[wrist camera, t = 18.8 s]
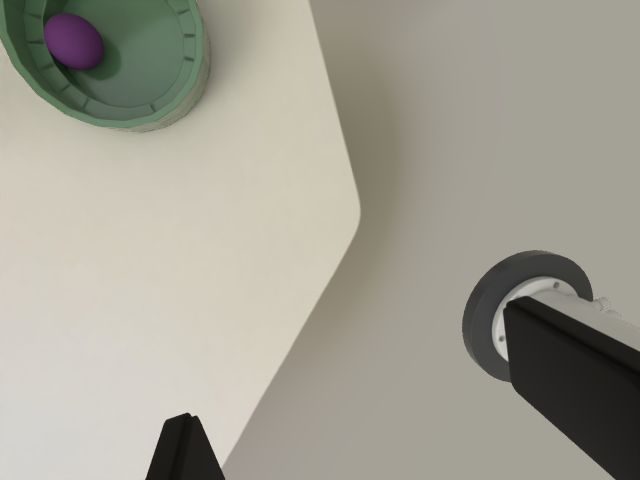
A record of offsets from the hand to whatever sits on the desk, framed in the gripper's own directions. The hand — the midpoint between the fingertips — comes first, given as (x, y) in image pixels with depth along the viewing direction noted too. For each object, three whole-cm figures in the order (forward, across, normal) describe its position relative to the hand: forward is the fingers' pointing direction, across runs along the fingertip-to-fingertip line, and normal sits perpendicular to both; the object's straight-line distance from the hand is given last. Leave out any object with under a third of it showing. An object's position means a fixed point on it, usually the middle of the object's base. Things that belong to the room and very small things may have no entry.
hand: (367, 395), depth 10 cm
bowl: (+28, +9, -19) cm, 35 cm away
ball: (+26, +12, -19) cm, 35 cm away
